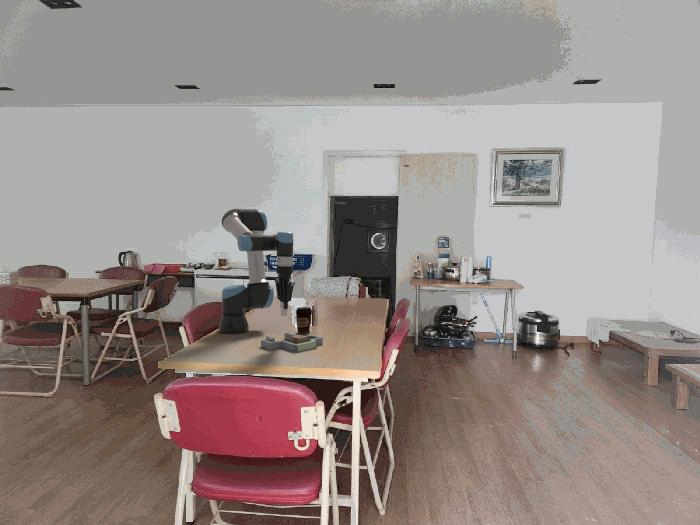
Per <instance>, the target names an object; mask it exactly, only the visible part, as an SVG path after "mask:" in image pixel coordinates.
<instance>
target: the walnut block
mask: <svg viewBox="0 0 700 525" xmlns="http://www.w3.org/2000/svg"><path fill="white" fill-rule="evenodd" d="M296 335H297V336H292V337H291V340H290V343H293V344H301V343H305V342H307V337H306V336H307V335H303V334H296Z"/></svg>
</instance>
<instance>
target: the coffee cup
mask: <svg viewBox="0 0 700 525" xmlns="http://www.w3.org/2000/svg"><path fill="white" fill-rule="evenodd" d="M312 314H313V309H312V307H311V306H310V307H309V306H301V307H297V308H296V310H295V316H296V317H295V318H296V329H297V333H298V334H301V335H303V334H304V335H305V334H310V333H311V331H310V329H311V325H312Z"/></svg>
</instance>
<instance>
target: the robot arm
mask: <svg viewBox="0 0 700 525" xmlns="http://www.w3.org/2000/svg"><path fill="white" fill-rule="evenodd" d="M221 226H222V227H223V229H224V230H225V231H226V232H228V233H230V234H231V235H232V236H233V237H234V238H235V239H236V240H237V242H236V243H237V248H238V250H239V251H240V252H246V254H247V255H246V256H247V267H248V269H247V270H248V282H247V284H246V285H244V284H233V285H229V286H225V287H224V288H222V291H221V319H220V321H219V325H218V332H219V333H221V334H241V333H242V334H243V333H247V332H248V331H249V329H250V327H249V322H248V320H247V316H246V310H260V309H261V310H262V309H267V308H270V307H271V306H272V304H273V302H274V297H275V292H274V291H275V290H276V298H277V300H279V302H280V316H281V317H285V316H288V309H289V302H292V297H293V291H294V286H295V284H296V282H295V281H293V280H292V274H293V273H294V267H293V265H294V242H295V241H294V234H293V232H292V231H278V232H276V234H265V231H266V230H267V229H268V218H267V216H266V213H265V211H263V210H262V209H257V208H251V209H250V208H232V209H230V210H227V212H225V213H224V214H223V215H222V218H221ZM273 251H274V252H276V268H275V269H276V274H277V278H275V279H274V283H275V290H274V287H273V286H272V285H270V283H269V281H268V280H267V279H266V277H267V276H266V268H265V267H266V266H265V258H264V256H265V255H264V252H273Z"/></svg>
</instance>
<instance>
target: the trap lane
mask: <svg viewBox="0 0 700 525" xmlns="http://www.w3.org/2000/svg"><path fill="white" fill-rule="evenodd" d="M297 335H298V334H294V333H289V332H287V331H285V332H284V339H285V340H278V341H276V338H275V337H272V336H269V335H266V336H265V339H260V347H261V348H264V349H267V350H270V351H273V350H277V349H286V350H288V351H291V352H295V353H297V352H302V351H306V350H311V349H315V348H318V346H319V345H320V346H321V345H323V344H324V338H323V337H322V336H318V335H314V334H307V335H305V336H306V337H307V342H305V343H301V344H293V343H291V337H292V336H297ZM286 340H289V341H286Z"/></svg>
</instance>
